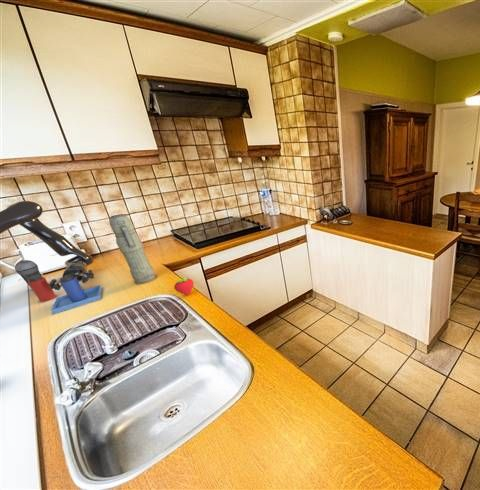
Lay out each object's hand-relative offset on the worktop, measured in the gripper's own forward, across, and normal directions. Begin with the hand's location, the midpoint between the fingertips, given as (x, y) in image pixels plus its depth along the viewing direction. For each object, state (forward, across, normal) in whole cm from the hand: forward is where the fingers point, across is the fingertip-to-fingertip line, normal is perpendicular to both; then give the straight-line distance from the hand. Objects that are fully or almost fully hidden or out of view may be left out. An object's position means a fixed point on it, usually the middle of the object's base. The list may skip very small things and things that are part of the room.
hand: (70, 284), depth 120 cm
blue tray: (0, 0, +8) cm, 9 cm away
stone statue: (-1, +25, +9) cm, 26 cm away
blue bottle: (0, 0, +8) cm, 8 cm away
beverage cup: (-34, -18, +9) cm, 39 cm away
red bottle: (-14, -12, +8) cm, 20 cm away
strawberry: (+33, +39, +9) cm, 52 cm away
